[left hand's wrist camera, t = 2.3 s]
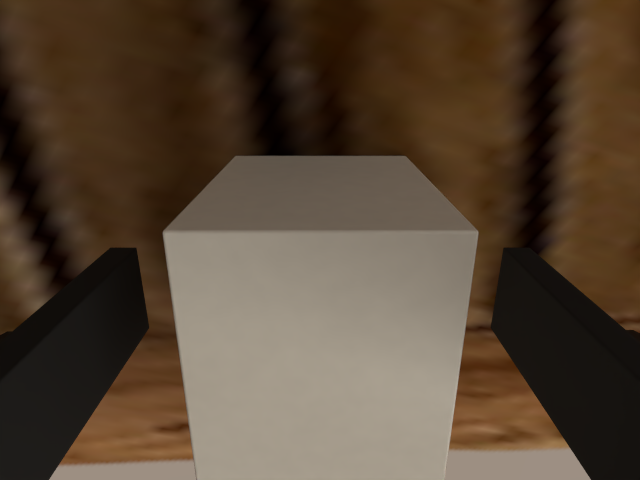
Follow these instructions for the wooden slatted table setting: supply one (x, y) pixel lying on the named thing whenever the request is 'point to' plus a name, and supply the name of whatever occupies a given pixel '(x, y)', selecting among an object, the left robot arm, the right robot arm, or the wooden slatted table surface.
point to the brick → (320, 318)
